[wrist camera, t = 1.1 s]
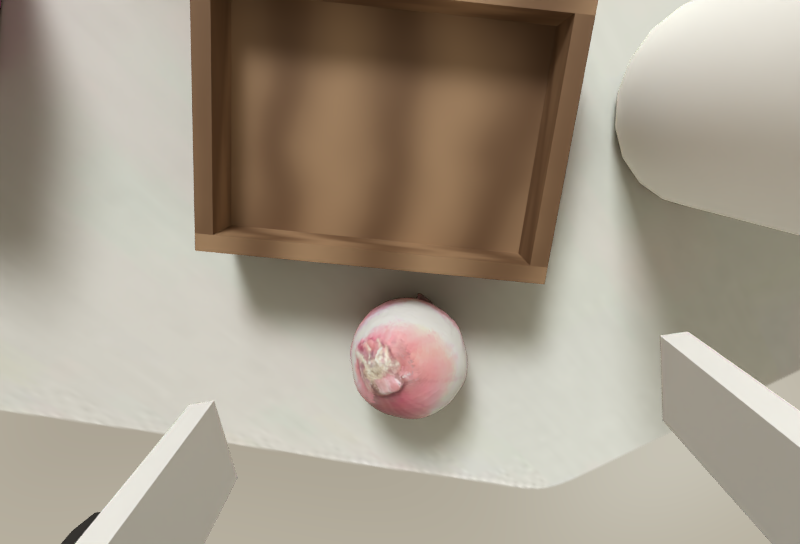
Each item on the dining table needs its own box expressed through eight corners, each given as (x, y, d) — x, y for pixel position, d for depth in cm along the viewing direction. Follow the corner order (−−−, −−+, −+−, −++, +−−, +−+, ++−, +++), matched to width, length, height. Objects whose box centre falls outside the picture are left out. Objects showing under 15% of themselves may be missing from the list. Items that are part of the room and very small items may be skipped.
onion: (346, 305, 35) (336, 307, 28) (450, 287, 35) (467, 284, 28) (364, 415, 35) (359, 445, 28) (469, 396, 35) (491, 421, 28)
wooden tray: (229, 231, 33) (195, 250, 27) (229, -18, 29) (188, -52, 23) (522, 259, 33) (544, 284, 28) (563, 18, 29) (599, -8, 24)
